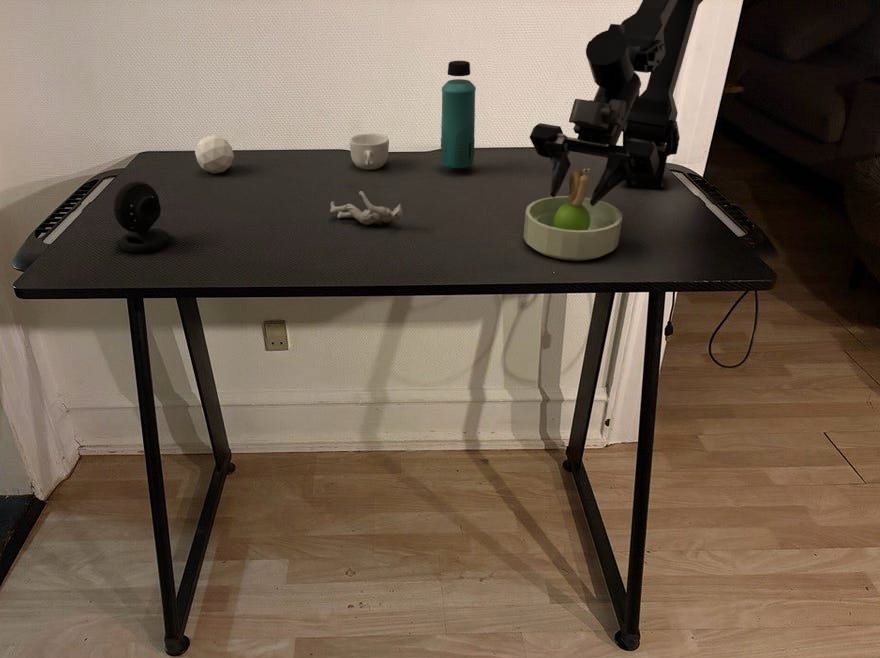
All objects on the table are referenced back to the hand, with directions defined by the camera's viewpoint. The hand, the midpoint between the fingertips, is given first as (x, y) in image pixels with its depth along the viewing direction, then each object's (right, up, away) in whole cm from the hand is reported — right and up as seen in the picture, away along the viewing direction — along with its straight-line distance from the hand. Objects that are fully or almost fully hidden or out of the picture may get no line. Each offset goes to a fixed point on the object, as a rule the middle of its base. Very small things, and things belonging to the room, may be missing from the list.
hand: (571, 200), depth 107 cm
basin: (+1, -6, +5) cm, 8 cm away
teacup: (-31, +14, +36) cm, 50 cm away
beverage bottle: (-14, +13, +34) cm, 39 cm away
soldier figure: (-31, -1, +13) cm, 33 cm away
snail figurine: (+1, -5, +5) cm, 7 cm away
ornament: (-61, +13, +35) cm, 72 cm away
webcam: (-66, -6, +7) cm, 66 cm away
